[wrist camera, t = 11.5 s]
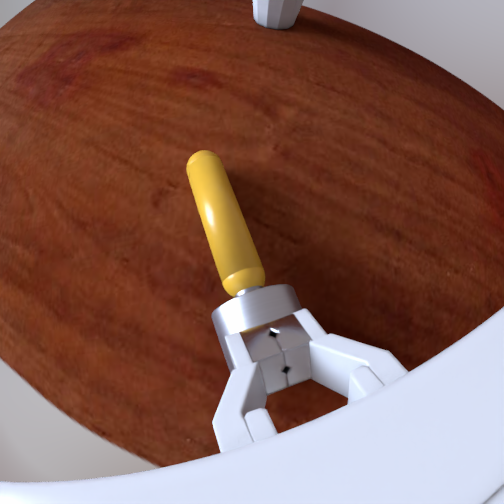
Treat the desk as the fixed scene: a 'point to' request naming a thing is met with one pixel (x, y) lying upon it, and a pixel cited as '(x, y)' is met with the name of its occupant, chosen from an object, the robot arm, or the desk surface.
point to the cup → (276, 13)
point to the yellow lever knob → (234, 255)
